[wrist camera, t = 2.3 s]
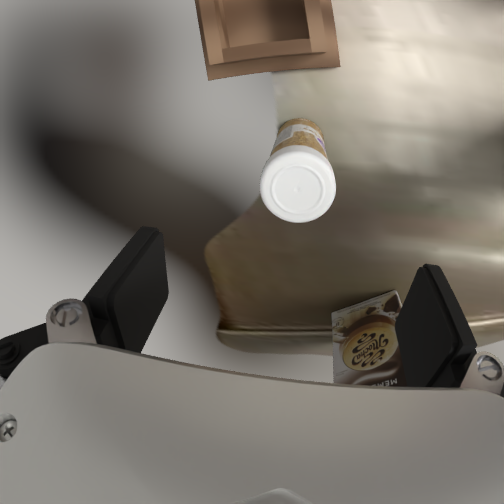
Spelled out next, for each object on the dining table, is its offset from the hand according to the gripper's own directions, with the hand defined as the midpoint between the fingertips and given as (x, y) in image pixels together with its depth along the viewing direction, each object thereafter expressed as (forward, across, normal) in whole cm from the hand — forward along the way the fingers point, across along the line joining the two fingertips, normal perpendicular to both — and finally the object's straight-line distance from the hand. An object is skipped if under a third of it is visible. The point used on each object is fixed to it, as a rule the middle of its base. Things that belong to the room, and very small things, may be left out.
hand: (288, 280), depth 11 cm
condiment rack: (+22, +5, -18) cm, 29 cm away
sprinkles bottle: (+22, 0, 0) cm, 22 cm away
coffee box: (+22, -13, +21) cm, 33 cm away
